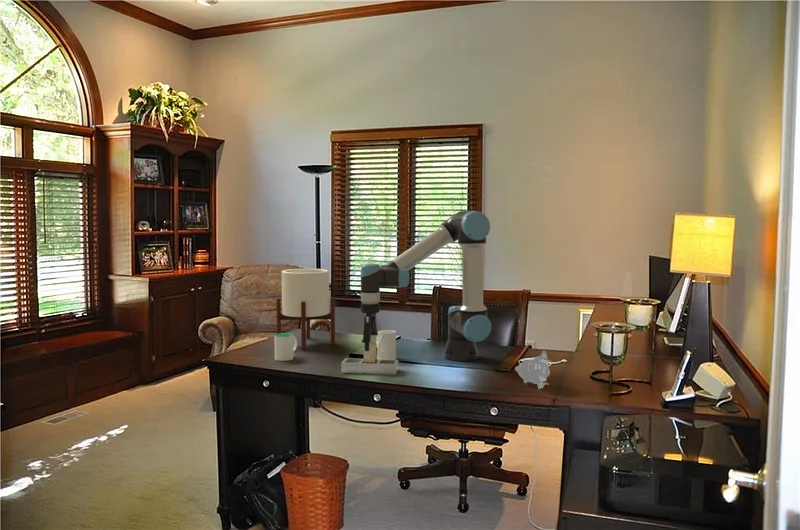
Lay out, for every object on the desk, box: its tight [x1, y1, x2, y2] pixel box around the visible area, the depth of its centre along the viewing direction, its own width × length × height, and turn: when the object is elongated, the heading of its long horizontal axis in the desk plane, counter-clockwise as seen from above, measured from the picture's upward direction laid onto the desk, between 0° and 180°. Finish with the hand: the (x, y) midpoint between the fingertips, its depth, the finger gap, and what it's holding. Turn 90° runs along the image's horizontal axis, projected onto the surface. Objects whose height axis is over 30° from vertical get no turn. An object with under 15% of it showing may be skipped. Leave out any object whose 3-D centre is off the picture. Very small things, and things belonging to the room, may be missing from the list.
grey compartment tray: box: [340, 357, 399, 376], centre depth 254 cm, size 22×8×4 cm, turn 83°
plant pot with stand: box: [275, 268, 336, 352], centre depth 303 cm, size 22×22×36 cm
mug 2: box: [376, 329, 397, 360], centre depth 274 cm, size 12×8×12 cm
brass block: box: [363, 342, 377, 363], centre depth 253 cm, size 4×4×10 cm
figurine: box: [514, 350, 552, 390], centre depth 233 cm, size 10×15×14 cm
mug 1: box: [273, 332, 298, 362], centre depth 276 cm, size 12×8×10 cm
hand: (370, 354), depth 253 cm, fingers open, 13 cm apart
